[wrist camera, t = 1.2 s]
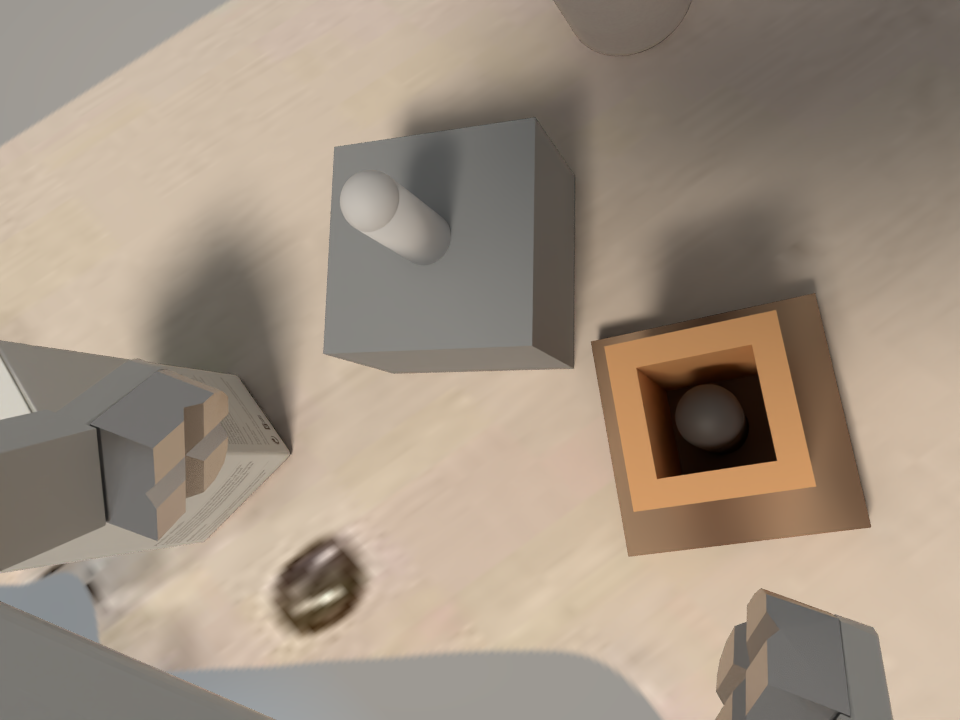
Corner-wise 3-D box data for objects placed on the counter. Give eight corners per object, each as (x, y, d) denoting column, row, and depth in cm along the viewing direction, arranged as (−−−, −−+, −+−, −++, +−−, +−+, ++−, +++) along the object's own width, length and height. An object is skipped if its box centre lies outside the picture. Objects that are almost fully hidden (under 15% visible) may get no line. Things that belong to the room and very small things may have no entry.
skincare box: (241, 373, 46) (-6, 323, 31) (299, 459, 43) (61, 448, 29) (149, 466, 47) (-128, 459, 33) (201, 554, 45) (-72, 589, 30)
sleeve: (776, 347, 34) (775, 310, 26) (807, 485, 33) (816, 486, 25) (640, 374, 36) (604, 346, 28) (664, 505, 34) (633, 512, 27)
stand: (813, 300, 35) (824, 246, 27) (867, 525, 33) (895, 539, 25) (597, 346, 38) (549, 310, 30) (634, 553, 36) (592, 574, 28)
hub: (574, 176, 40) (484, 42, 28) (573, 368, 38) (478, 316, 26) (400, 196, 43) (253, 85, 31) (393, 373, 42) (235, 329, 30)
